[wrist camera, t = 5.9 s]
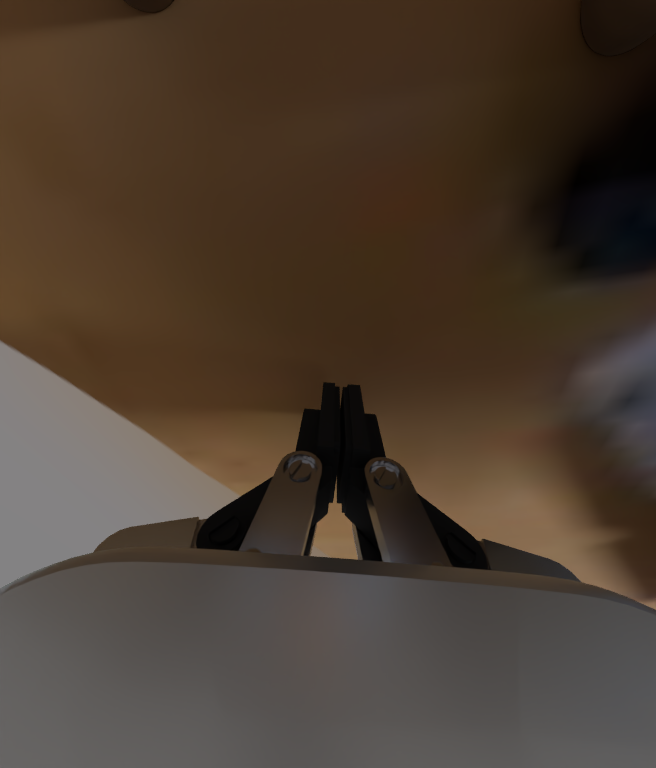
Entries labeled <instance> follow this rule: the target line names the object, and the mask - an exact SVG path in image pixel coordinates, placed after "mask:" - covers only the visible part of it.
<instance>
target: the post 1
mask: <svg viewBox="0 0 656 768" xmlns="http://www.w3.org/2000/svg"><path fill="white" fill-rule="evenodd" d="M124 1H125V2H126V3H128V4H129V5H131V6H132V7H134V8H136V9H138V10H141V11H145V12H157V11H161V10H163V9H164V8H166V7H167V6H168V5H170V4H171V3H172V1H173V0H124Z"/></svg>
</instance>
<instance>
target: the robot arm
mask: <svg viewBox="0 0 656 768" xmlns="http://www.w3.org/2000/svg"><path fill="white" fill-rule="evenodd" d="M336 477H337V503H342V513H345V515H346V516H347V518H348V519H349V520H350V521H351V522H352V530H353V535H354V540H355V545H356V550H357V555H358V560H354V559H341V558H327V557H314V556H310V555H311V550H312V546H313V542H314V537H315V533H316V528H317V522H318V521H320V520H321V519H322V518H323V517H324V516H325V515H326V514H327V513H328V506H329V503H333V498H334V491H335V484H336ZM0 768H656V610H655V609H653V608H651V607H648V606H646V605H644V604H641V603H639V602H637V601H635V600H632V599H630V598H628V597H626V596H623V595H620V594H618V593H615V592H612V591H609V590H606V589H603V588H600V587H597V586H594V585H590V584H586V583H582V582H581V581H580V580H579V579H578V578H577V577H576V576H575V575H574V574H573V573H572V572H571V571H569V570H568V569H566V568H565V567H564V566H562V565H561V564H559V563H557V562H555V561H553V560H551V559H548V558H545V557H541V556H538V555H535V554H531V553H528V552H525V551H522V550H518V549H515V548H512V547H509V546H505V545H502V544H499V543H495V542H492V541H489V540H486V539H482V540H481V541H477V540H476V539H475V538H474V537H473V536H472V535H471V534H470V533H468V532H467V531H466V530H465V529H463V528H462V527H461V526H459V525H458V524H457V523H456V522H454V521H453V520H452V519H450V518H449V517H448V516H446V515H445V514H444V513H442V512H441V511H440V510H439V509H437V508H436V507H435V506H433V505H432V504H431V503H429V502H428V501H427V500H425V499H424V498H423V497H422V496H420V495H419V494H418V493H417V492H416V490H415V488H414V486H413V484H412V482H411V480H410V478H409V476H408V474H407V472H406V471H405V469H404V468H403V467H402V466H401V465H400V464H399V463H397V462H396V461H394V460H392V459H389V458H386V456H385V451H384V447H383V443H382V439H381V434H380V430H379V426H378V422H377V417H376V415H375V414H365V413H364V407H363V401H362V395H361V389H360V385H350V384H348V386H347V387H343V390H342V398H341V406H340V387H337V386H335V383H326V382H324V383H323V393H322V402H321V410H315V409H304V412H303V417H302V422H301V427H300V432H299V436H298V441H297V446H296V451H295V452H292V453H290V454H287V455H286V456H285V457H284V458H283V459H282V460H281V461H280V463H279V465H278V467H277V469H276V471H275V474H274V476H273V477H271V478H270V479H268V480H267V481H265V482H263V483H262V484H260V485H259V486H257V487H255V488H254V489H252V490H250V491H249V492H247V493H246V494H244V495H242V496H241V497H239V498H238V499H236V500H235V501H233V502H231V503H230V504H228V505H226V506H225V507H223V508H222V509H220V510H218V511H217V512H216V513H214V514H213V515H212V516H210V517H209V518H208V519H203V520H199V517H193V518H187V519H180V520H174V521H167V522H161V523H154V524H147V525H141V526H134V527H129V528H126V529H123V530H119V531H118V532H116V533H114V534H112V535H111V536H109V537H108V538H106V539H105V540H104V541H103V542H102V543H101V544H100V545H99V546H98V547H97V548H96V549H95V551H94V552H93V553H89V554H85V555H82V556H77V557H74V558H70V559H67V560H64V561H62V562H58V563H55V564H52V565H50V566H48V567H44V568H42V569H39V570H37V571H34V572H32V573H30V574H28V575H25V576H23V577H21V578H19V579H17V580H15V581H13V582H11V583H10V584H8V585H6V586H4V587H2V588H1V589H0Z"/></svg>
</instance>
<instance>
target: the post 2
mask: <svg viewBox="0 0 656 768" xmlns="http://www.w3.org/2000/svg"><path fill="white" fill-rule="evenodd" d="M581 25H582V31H583V35H584V38H585V40H586V42H587V44H588V45H589V46H590V48H591V49H592V50H594V51H595V52H596V53H598V54H601V55H605V56H613V55H619V54H622V53H625V52H627V51H629V50H631V49H633V48H635V47H636V46H638V45H639V44H641V43H642V42H644V41H645V40H647V39H648V38H650V37H651V36H653V35H654V34H656V0H582V4H581Z"/></svg>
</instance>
